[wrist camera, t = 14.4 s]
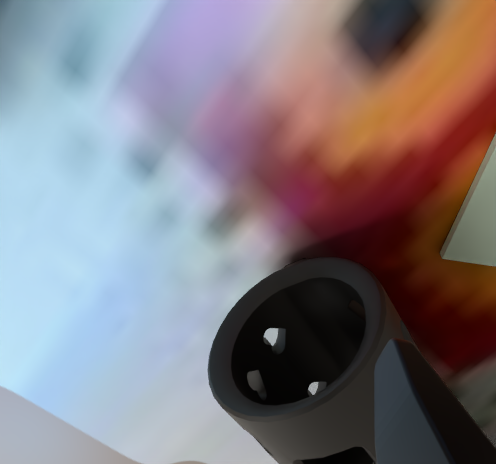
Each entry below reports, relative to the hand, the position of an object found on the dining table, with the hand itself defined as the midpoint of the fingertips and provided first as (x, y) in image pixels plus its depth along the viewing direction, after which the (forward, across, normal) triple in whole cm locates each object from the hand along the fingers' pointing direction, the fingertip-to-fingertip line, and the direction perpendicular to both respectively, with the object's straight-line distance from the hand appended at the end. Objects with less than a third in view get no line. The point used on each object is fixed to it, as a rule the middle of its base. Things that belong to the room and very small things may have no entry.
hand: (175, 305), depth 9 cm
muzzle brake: (+13, -14, +18) cm, 27 cm away
